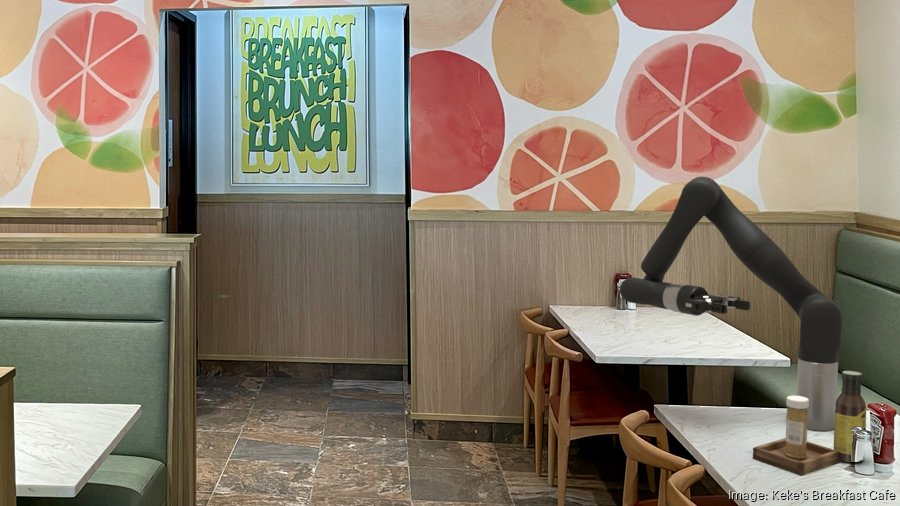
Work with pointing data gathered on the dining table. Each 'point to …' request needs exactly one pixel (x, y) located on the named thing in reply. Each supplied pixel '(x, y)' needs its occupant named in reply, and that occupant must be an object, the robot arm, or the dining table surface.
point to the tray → (813, 461)
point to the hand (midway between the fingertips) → (737, 307)
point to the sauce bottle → (848, 413)
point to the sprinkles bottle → (796, 426)
